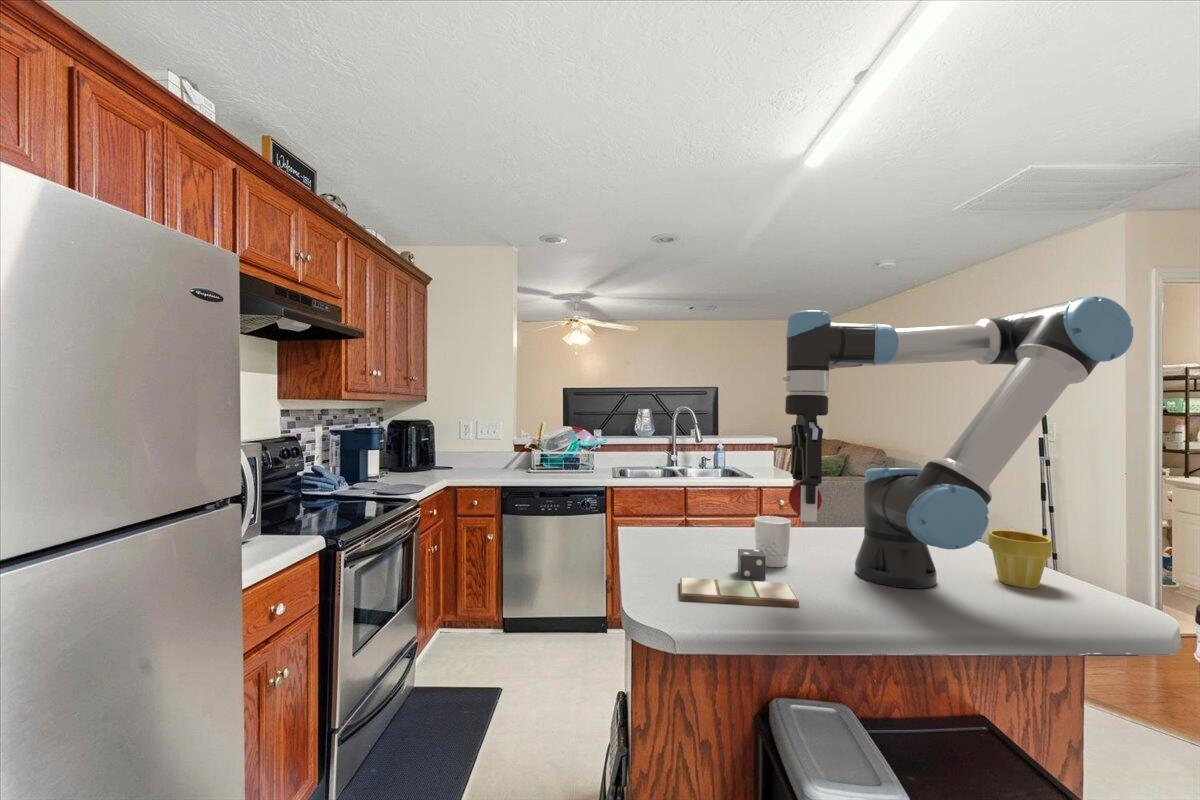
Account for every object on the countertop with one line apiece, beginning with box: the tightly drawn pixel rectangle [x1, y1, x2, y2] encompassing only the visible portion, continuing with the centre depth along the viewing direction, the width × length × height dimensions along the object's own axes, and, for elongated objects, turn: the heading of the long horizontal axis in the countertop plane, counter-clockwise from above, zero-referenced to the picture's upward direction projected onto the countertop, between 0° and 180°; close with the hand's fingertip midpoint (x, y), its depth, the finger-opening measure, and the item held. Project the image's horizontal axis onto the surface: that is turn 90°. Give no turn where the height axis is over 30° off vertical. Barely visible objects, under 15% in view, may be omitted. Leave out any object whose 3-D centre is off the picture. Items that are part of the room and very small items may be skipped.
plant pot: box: [988, 529, 1053, 589], centre depth 111 cm, size 10×10×10 cm
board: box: [679, 577, 800, 608], centre depth 103 cm, size 21×10×1 cm, turn 82°
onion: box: [788, 479, 823, 517], centre depth 102 cm, size 6×6×8 cm
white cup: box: [754, 515, 792, 568], centre depth 124 cm, size 8×8×10 cm
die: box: [737, 548, 767, 581], centre depth 115 cm, size 5×5×5 cm
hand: (804, 517), depth 102 cm, fingers closed on onion, 6 cm apart
